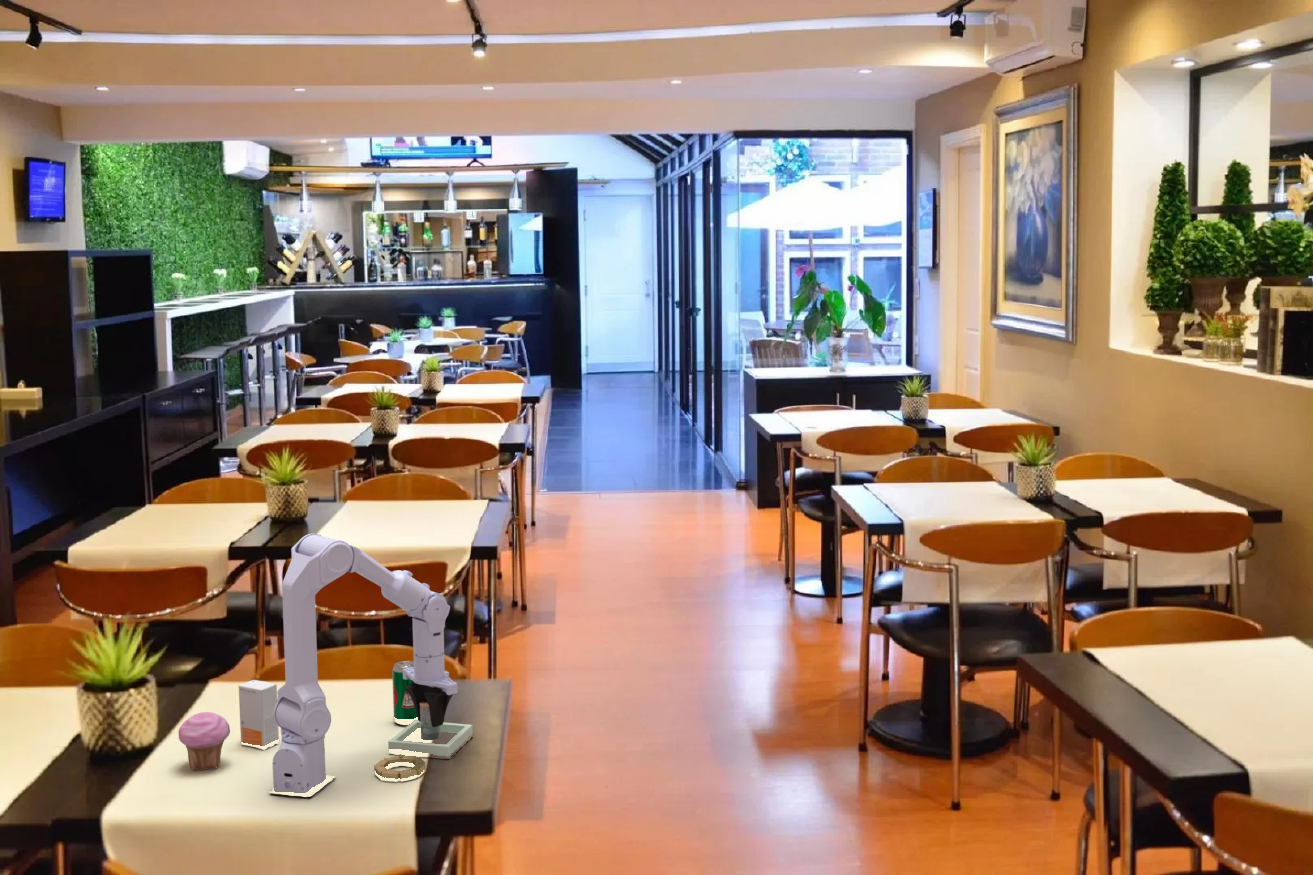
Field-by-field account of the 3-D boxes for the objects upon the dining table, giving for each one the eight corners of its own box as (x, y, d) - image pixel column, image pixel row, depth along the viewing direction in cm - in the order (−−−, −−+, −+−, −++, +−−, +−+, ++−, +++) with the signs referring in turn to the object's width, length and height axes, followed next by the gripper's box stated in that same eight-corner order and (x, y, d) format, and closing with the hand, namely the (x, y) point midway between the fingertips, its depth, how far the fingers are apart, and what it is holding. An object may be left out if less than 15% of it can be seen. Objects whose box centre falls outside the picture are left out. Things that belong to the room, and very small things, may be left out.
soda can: (405, 728, 263) (404, 669, 261) (388, 723, 266) (386, 664, 264) (425, 721, 267) (423, 663, 265) (407, 716, 270) (405, 658, 268)
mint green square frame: (448, 759, 246) (448, 746, 246) (388, 754, 249) (388, 741, 248) (472, 737, 257) (472, 724, 257) (415, 732, 260) (414, 719, 260)
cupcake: (178, 777, 238) (175, 723, 237) (182, 760, 246) (179, 708, 245) (230, 772, 240) (228, 718, 239) (232, 755, 249) (230, 703, 247)
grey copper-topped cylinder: (444, 736, 253) (443, 700, 252) (429, 741, 250) (428, 705, 249) (431, 732, 255) (430, 696, 254) (417, 737, 253) (415, 701, 252)
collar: (412, 784, 234) (412, 775, 234) (367, 779, 237) (367, 771, 236) (432, 766, 243) (431, 757, 243) (388, 762, 245) (388, 753, 245)
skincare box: (240, 745, 253) (237, 685, 252) (256, 738, 257) (253, 678, 256) (264, 751, 251) (261, 689, 249) (280, 743, 254) (277, 683, 253)
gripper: (469, 656, 249) (471, 726, 250) (423, 641, 259) (425, 708, 260) (439, 664, 244) (441, 736, 245) (392, 649, 254) (394, 717, 255)
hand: (430, 722), depth 253 cm, fingers closed on grey copper-topped cylinder, 4 cm apart
